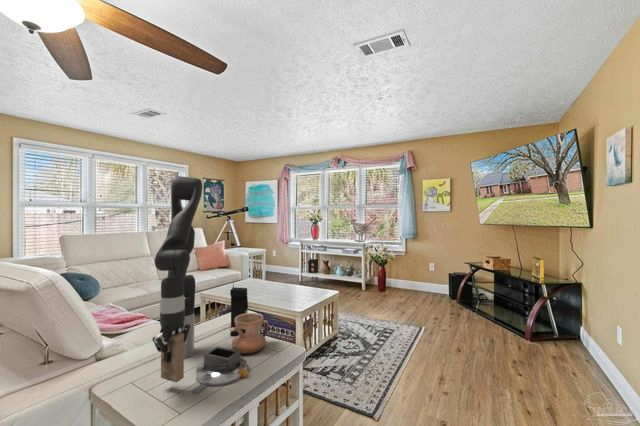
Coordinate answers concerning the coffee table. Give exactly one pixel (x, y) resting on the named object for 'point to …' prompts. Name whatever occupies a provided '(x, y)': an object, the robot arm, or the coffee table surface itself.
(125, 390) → the coffee table surface
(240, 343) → the ceramic jug
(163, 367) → the brown wooden block
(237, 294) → the portable radio
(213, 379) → the grey disc
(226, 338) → the coffee table surface
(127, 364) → the coffee table surface
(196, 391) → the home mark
